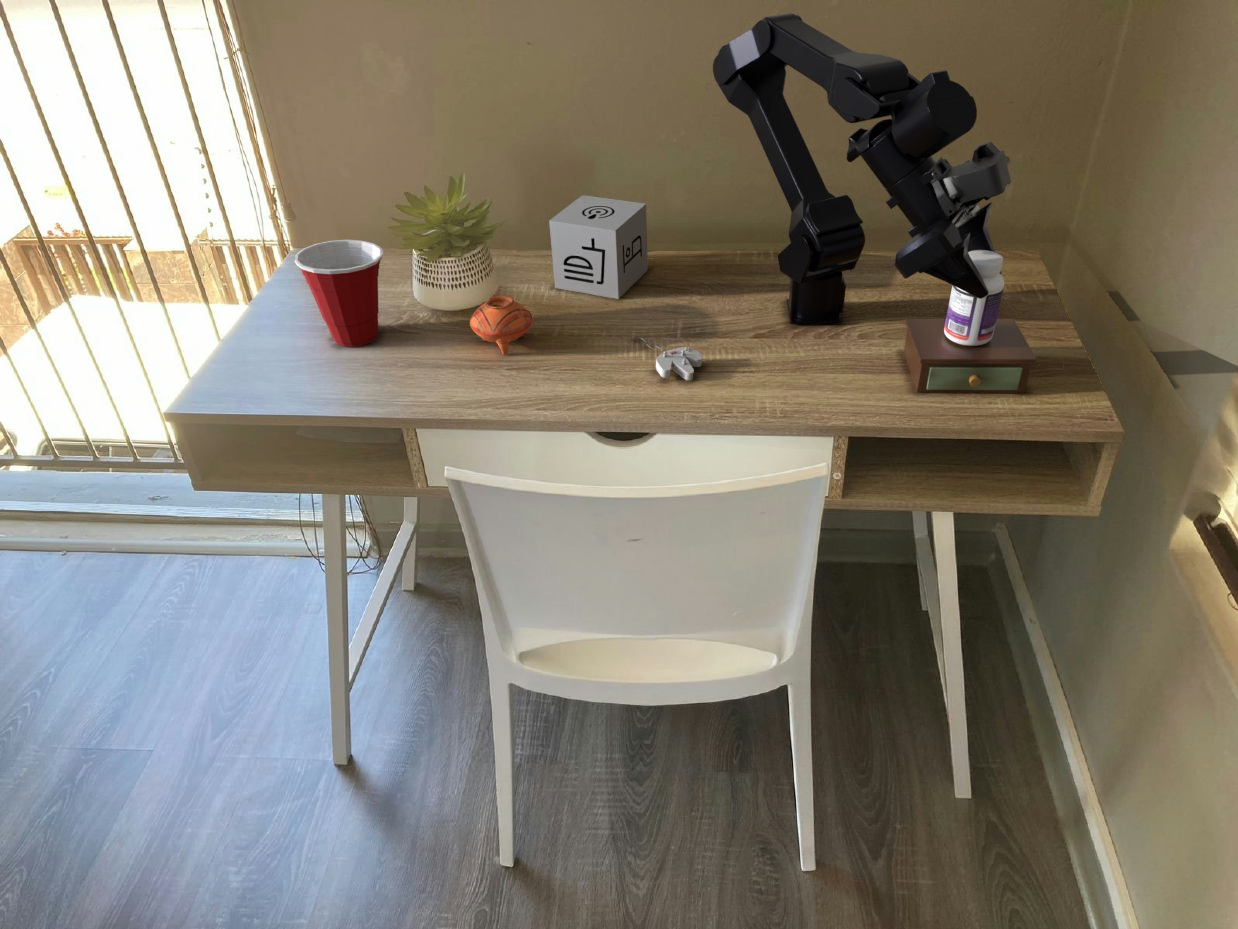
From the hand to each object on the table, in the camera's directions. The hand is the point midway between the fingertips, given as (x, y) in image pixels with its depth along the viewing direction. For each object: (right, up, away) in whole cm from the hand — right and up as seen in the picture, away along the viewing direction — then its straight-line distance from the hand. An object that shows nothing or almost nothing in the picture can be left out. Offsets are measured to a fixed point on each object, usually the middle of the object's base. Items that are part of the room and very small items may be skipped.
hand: (991, 285), depth 104 cm
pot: (-56, -4, +18) cm, 59 cm away
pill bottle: (-1, -5, +5) cm, 7 cm away
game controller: (-35, -7, +13) cm, 38 cm away
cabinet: (-1, -9, +7) cm, 12 cm away
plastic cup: (-76, -3, +21) cm, 79 cm away
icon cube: (-44, +7, +32) cm, 54 cm away
